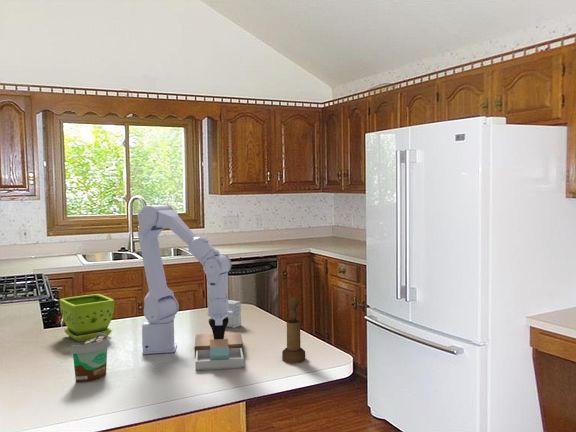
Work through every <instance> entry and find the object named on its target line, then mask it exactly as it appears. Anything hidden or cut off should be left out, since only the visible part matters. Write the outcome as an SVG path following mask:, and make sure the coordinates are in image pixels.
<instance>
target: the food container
mask: <svg viewBox="0 0 576 432" xmlns="http://www.w3.org/2000/svg"><path fill="white" fill-rule="evenodd" d="M110 345H111V342H110V338H109V335H108V336H107V335H106V334H104V333H97V336H96V337H95V338H92V339H89V340H86V341H82V342H81V343H80V344H71V352H70V354H72V357H73V367H74V378H75V383H89V382H95V381H98V380H101V379H103V378H104V377H106V375H107V366H108V365H107V363H108V362H107V361H108V347H109V346H110Z"/></svg>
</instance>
